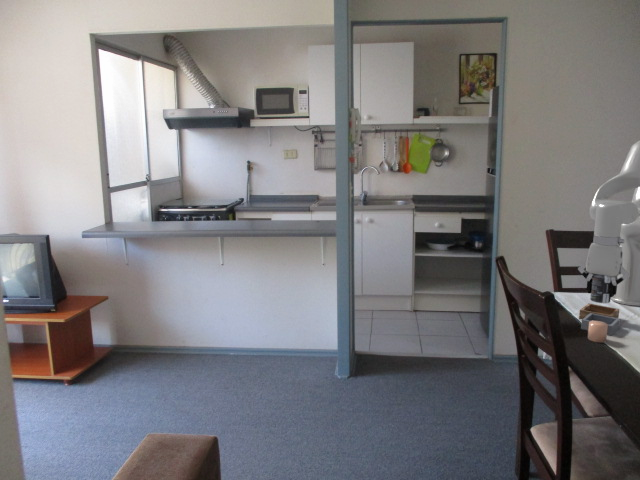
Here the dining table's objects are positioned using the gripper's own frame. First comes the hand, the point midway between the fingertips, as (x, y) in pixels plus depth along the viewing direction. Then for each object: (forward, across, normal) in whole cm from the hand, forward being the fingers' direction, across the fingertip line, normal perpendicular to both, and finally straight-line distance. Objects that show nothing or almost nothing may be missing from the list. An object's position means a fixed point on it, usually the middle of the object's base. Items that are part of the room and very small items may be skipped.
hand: (600, 293), depth 179 cm
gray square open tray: (+9, -3, +9) cm, 13 cm away
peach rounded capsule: (+9, -5, +20) cm, 22 cm away
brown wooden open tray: (+9, 0, 0) cm, 9 cm away
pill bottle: (+3, 0, 0) cm, 3 cm away
